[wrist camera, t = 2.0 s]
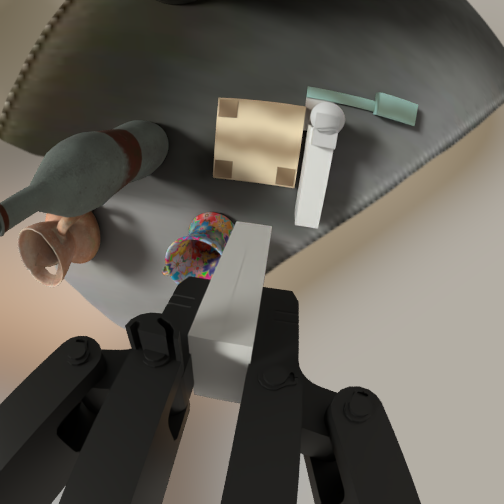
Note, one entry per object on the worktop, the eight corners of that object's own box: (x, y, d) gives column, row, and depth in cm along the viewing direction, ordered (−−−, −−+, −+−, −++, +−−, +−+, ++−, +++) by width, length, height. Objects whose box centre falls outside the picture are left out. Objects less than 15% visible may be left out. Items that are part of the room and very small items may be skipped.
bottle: (150, 183, 44) (19, 289, 18) (115, 150, 41) (-30, 225, 16) (183, 141, 40) (34, 219, 14) (144, 107, 37) (-22, 146, 11)
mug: (225, 199, 44) (208, 227, 35) (250, 247, 48) (240, 284, 38) (166, 225, 48) (139, 256, 38) (192, 267, 51) (173, 304, 42)
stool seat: (224, 69, 34) (212, 63, 28) (411, 104, 32) (432, 105, 26) (216, 174, 42) (203, 187, 36) (390, 202, 40) (405, 220, 34)
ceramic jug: (83, 267, 56) (49, 305, 43) (46, 221, 50) (6, 251, 38) (125, 226, 49) (84, 266, 37) (81, 170, 44) (30, 196, 32)
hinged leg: (308, 100, 34) (313, 98, 27) (336, 105, 34) (347, 105, 27) (292, 210, 43) (292, 231, 36) (317, 214, 43) (322, 236, 36)
